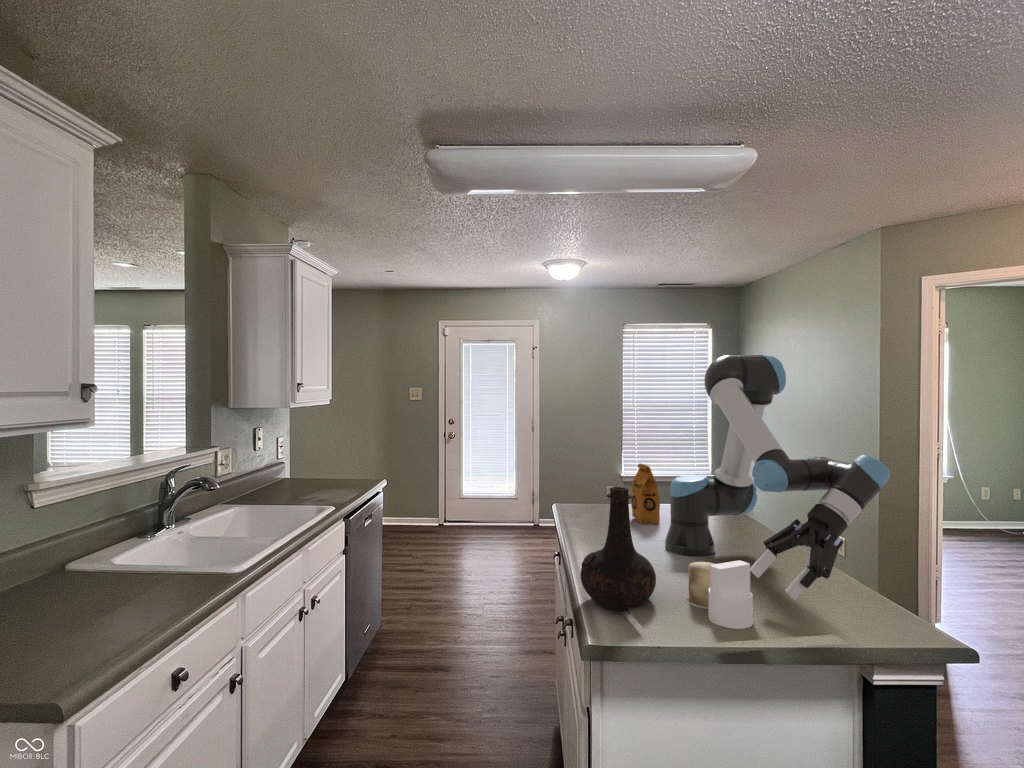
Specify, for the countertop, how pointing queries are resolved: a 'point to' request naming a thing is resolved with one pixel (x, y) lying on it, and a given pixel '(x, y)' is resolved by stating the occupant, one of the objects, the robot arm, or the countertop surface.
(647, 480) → the coffee package
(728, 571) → the cylinder with rectangular tab
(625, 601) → the glass bottle
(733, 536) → the countertop surface
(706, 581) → the oak cylinder
